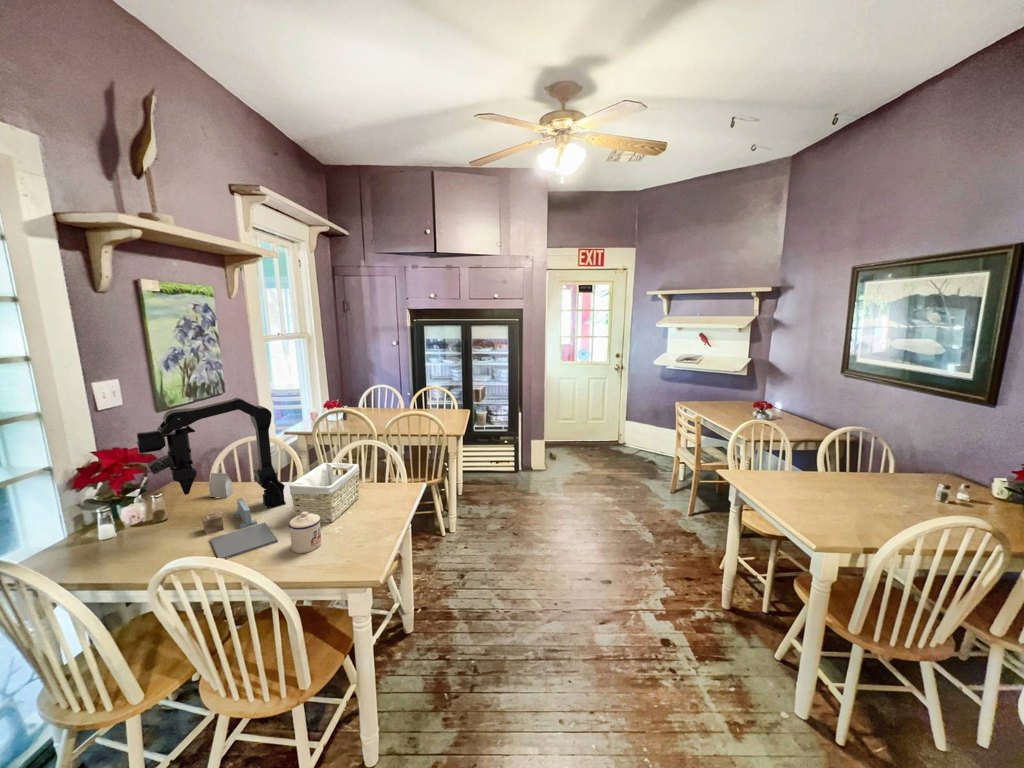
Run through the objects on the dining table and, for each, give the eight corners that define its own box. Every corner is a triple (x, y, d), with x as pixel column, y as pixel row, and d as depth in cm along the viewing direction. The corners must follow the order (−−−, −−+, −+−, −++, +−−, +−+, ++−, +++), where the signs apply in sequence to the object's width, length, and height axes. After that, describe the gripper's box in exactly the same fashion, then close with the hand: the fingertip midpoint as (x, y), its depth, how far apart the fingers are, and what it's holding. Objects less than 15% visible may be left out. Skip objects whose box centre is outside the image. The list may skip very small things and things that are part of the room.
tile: (265, 524, 147) (265, 522, 147) (277, 541, 135) (277, 539, 135) (210, 540, 136) (210, 538, 136) (219, 561, 125) (218, 558, 124)
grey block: (226, 498, 168) (224, 475, 167) (210, 498, 168) (207, 474, 167) (232, 494, 172) (230, 471, 170) (216, 494, 172) (214, 471, 170)
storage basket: (332, 525, 147) (330, 486, 144) (289, 523, 148) (286, 484, 146) (362, 497, 170) (361, 463, 168) (325, 495, 172) (323, 461, 169)
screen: (248, 511, 157) (247, 496, 156) (257, 523, 147) (255, 508, 146) (233, 515, 153) (231, 500, 152) (240, 528, 144) (239, 512, 143)
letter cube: (221, 524, 147) (219, 511, 146) (223, 530, 143) (222, 516, 142) (203, 529, 143) (202, 515, 142) (206, 535, 140) (204, 520, 139)
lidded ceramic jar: (317, 552, 129) (314, 518, 127) (286, 555, 128) (283, 520, 126) (328, 533, 141) (326, 501, 139) (300, 535, 140) (297, 503, 138)
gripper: (146, 445, 140) (153, 488, 143) (148, 459, 127) (155, 506, 129) (187, 439, 148) (193, 480, 150) (193, 451, 134) (199, 496, 137)
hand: (185, 490), depth 142 cm, fingers open, 9 cm apart
